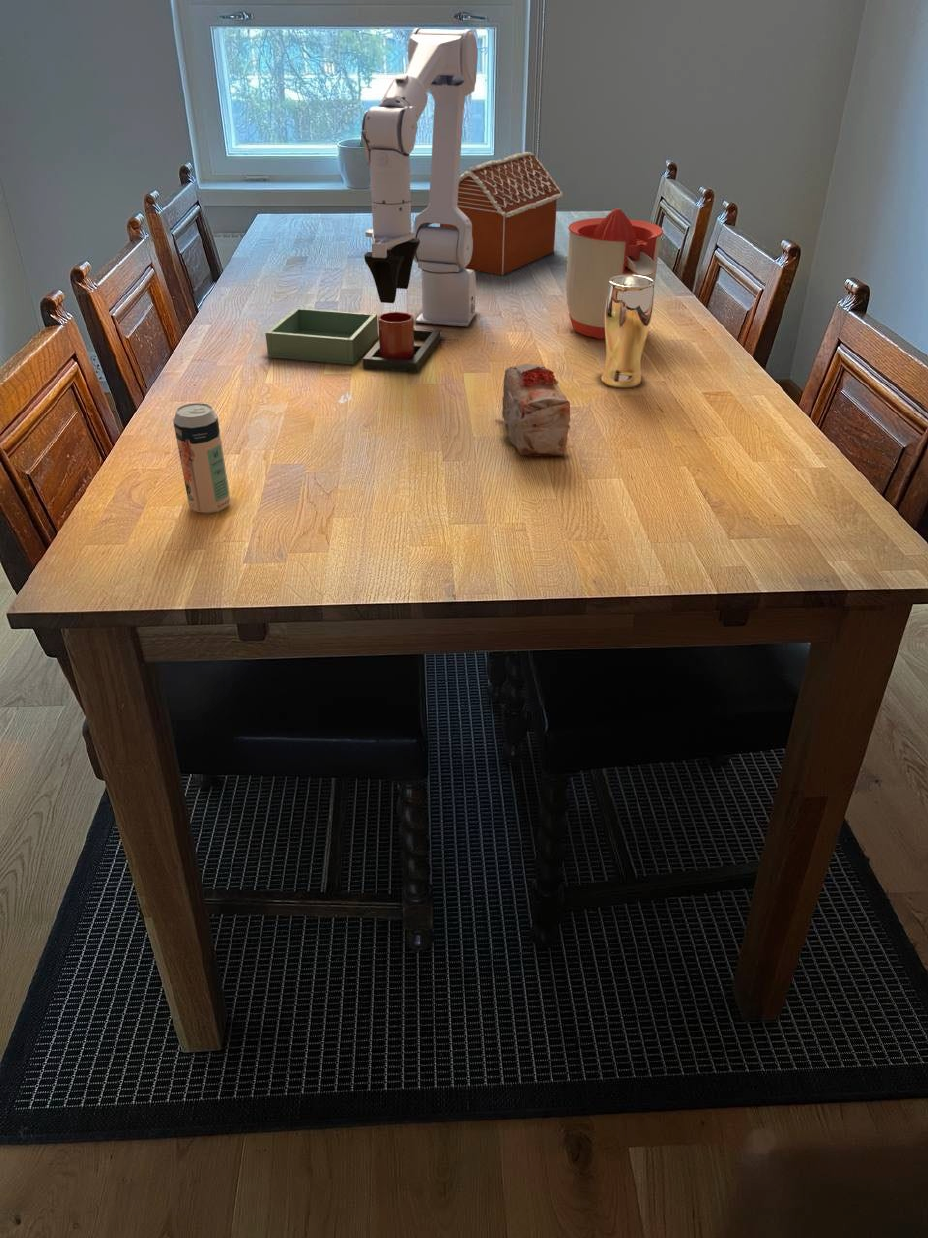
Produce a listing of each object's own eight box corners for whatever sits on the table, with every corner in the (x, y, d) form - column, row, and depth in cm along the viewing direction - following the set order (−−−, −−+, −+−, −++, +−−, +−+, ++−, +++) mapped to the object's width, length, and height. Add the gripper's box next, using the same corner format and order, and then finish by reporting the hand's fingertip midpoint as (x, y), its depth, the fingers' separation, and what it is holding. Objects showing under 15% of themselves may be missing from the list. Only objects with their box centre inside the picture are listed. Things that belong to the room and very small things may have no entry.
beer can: (193, 497, 109) (175, 401, 102) (233, 496, 110) (218, 400, 103) (186, 516, 105) (167, 419, 98) (228, 515, 106) (212, 418, 99)
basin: (378, 337, 157) (377, 313, 154) (353, 364, 146) (352, 339, 144) (298, 330, 159) (295, 307, 157) (268, 357, 148) (265, 332, 146)
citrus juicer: (599, 353, 151) (611, 224, 140) (544, 323, 164) (551, 202, 152) (674, 339, 157) (693, 215, 145) (616, 311, 170) (628, 194, 158)
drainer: (441, 338, 157) (441, 329, 156) (416, 372, 143) (416, 363, 143) (391, 334, 158) (391, 325, 157) (362, 367, 145) (362, 358, 144)
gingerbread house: (562, 251, 205) (569, 152, 193) (504, 277, 187) (508, 170, 176) (492, 239, 213) (494, 144, 201) (430, 264, 195) (428, 160, 184)
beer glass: (647, 375, 143) (659, 276, 134) (639, 391, 138) (651, 289, 129) (603, 369, 145) (613, 272, 136) (593, 385, 140) (603, 284, 131)
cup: (418, 356, 149) (417, 312, 145) (409, 367, 145) (407, 323, 141) (385, 353, 150) (383, 310, 146) (375, 364, 146) (373, 321, 142)
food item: (574, 460, 118) (580, 387, 113) (514, 464, 117) (517, 391, 111) (547, 418, 129) (552, 349, 124) (492, 422, 128) (494, 352, 122)
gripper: (379, 189, 140) (383, 280, 148) (349, 209, 129) (355, 306, 137) (423, 191, 139) (425, 283, 147) (397, 211, 127) (400, 310, 135)
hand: (394, 294), depth 142 cm, fingers open, 7 cm apart
